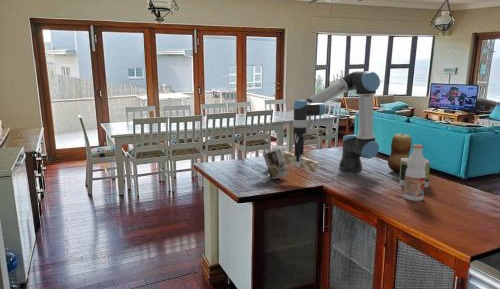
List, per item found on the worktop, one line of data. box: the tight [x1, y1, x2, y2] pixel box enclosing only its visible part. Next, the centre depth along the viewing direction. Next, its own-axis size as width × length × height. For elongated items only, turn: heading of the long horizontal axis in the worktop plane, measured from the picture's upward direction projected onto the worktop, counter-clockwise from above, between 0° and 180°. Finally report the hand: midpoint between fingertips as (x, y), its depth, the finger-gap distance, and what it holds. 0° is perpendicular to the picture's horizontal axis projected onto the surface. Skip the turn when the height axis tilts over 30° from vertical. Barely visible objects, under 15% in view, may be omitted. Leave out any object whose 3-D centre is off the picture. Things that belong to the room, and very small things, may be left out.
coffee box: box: [263, 149, 289, 180], centre depth 231 cm, size 9×6×16 cm
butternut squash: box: [387, 133, 412, 173], centre depth 246 cm, size 14×13×25 cm
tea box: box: [399, 158, 431, 189], centre depth 219 cm, size 15×10×15 cm
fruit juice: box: [403, 143, 426, 202], centre depth 194 cm, size 9×9×28 cm
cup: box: [270, 144, 288, 155], centre depth 256 cm, size 11×11×15 cm
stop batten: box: [261, 173, 272, 184], centre depth 233 cm, size 2×20×2 cm, turn 157°
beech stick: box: [281, 150, 319, 173], centre depth 223 cm, size 22×3×6 cm, turn 58°
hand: (298, 165), depth 224 cm, fingers closed on beech stick, 4 cm apart
